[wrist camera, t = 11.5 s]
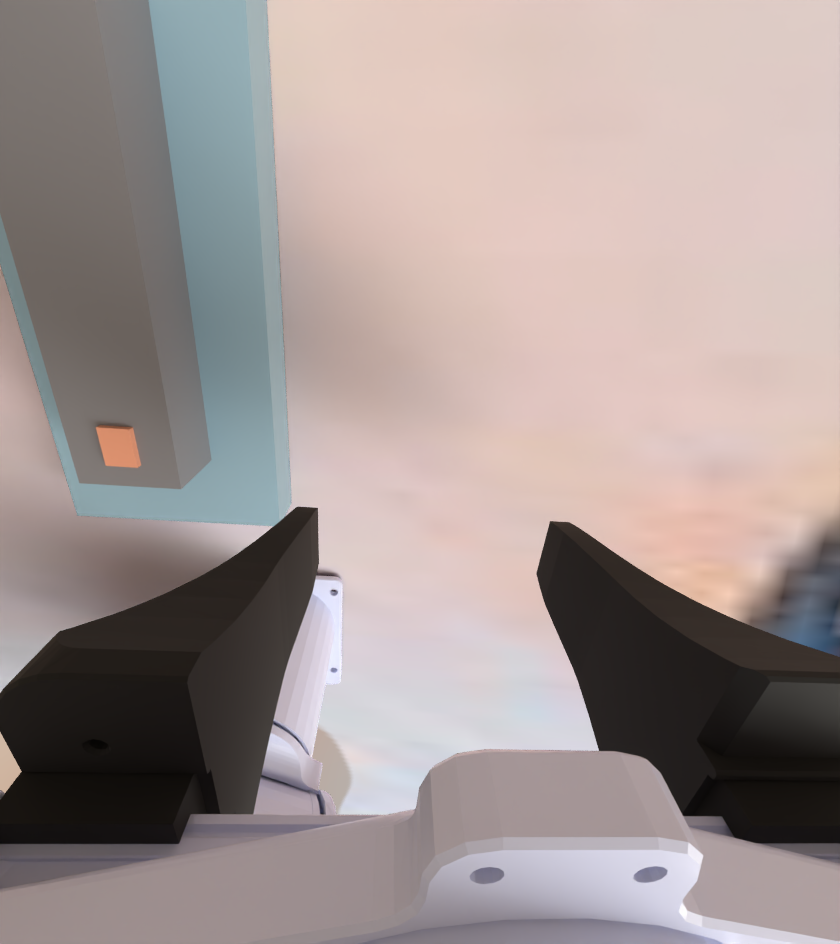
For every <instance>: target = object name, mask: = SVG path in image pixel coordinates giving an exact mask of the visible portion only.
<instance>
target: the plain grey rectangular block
mask: <svg viewBox="0 0 840 944" xmlns="http://www.w3.org/2000/svg"><path fill="white" fill-rule="evenodd" d="M0 215H1V218H2V222H3V225H4V229H5V232H6V235H7V239H8V242H9V246H10V249H11V252H12V256H13V259H14V263H15V266H16V269H17V273H18V276H19V280H20V283H21V286H22V290H23V293H24V297H25V300H26V303H27V307H28V310H29V314H30V317H31V321H32V324H33V327H34V331H35V334H36V338H37V341H38V344H39V348H40V351H41V355H42V358H43V361H44V365H45V368H46V372H47V375H48V378H49V382H50V385H51V389H52V392H53V395H54V399H55V402H56V406H57V409H58V412H59V416H60V419H61V423H62V426H63V429H64V433H65V436H66V440H67V443H68V446H69V450H70V453H71V457H72V460H73V463H74V467H75V470H76V474H77V477H78V480H79V483H83V484H99V485H116V486H133V487H150V488H167V489H182V488H183V487H184V486H185V485H186V484H187V483H188V482H189V481H190V480H191V479H193V478H194V477H195V476H196V475H197V474H198V473H199V472H200V471H201V470H202V469H203V468H204V467H205V466H206V465H207V464H208V463H209V462H210V461H211V452H210V445H209V438H208V430H207V423H206V416H205V409H204V401H203V394H202V387H201V379H200V372H199V365H198V358H197V350H196V343H195V336H194V328H193V321H192V314H191V307H190V299H189V292H188V285H187V277H186V270H185V263H184V255H183V248H182V241H181V234H180V226H179V219H178V212H177V204H176V197H175V190H174V183H173V175H172V168H171V161H170V153H169V146H168V139H167V132H166V124H165V117H164V110H163V102H162V95H161V88H160V81H159V73H158V66H157V59H156V51H155V44H154V37H153V30H152V22H151V15H150V8H149V0H0Z"/></svg>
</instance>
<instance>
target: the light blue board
mask: <svg viewBox="0 0 840 944" xmlns="http://www.w3.org/2000/svg"><path fill="white" fill-rule="evenodd" d="M149 8H150V15H151V22H152V30H153V37H154V44H155V51H156V59H157V66H158V73H159V81H160V88H161V95H162V102H163V110H164V117H165V124H166V132H167V139H168V146H169V153H170V161H171V168H172V175H173V183H174V190H175V197H176V204H177V212H178V219H179V226H180V234H181V241H182V248H183V255H184V263H185V270H186V277H187V285H188V292H189V299H190V307H191V314H192V321H193V328H194V336H195V343H196V350H197V358H198V365H199V372H200V379H201V387H202V394H203V401H204V409H205V416H206V423H207V430H208V438H209V445H210V452H211V461H210V462H209V463H208V464H207V465H206V466H205V467H204V468H203V469H202V470H201V471H200V472H199V473H198V474H197V475H196V476H195V477H194V478H193V479H191V480H190V481H189V482H188V483H187V484H186V485H185V486H184V487H183V488H182V489H167V488H150V487H133V486H116V485H99V484H83V483H79V480H78V477H77V474H76V470H75V467H74V463H73V460H72V457H71V453H70V450H69V446H68V443H67V440H66V436H65V433H64V429H63V426H62V423H61V419H60V416H59V412H58V409H57V406H56V402H55V399H54V395H53V392H52V389H51V385H50V382H49V378H48V375H47V372H46V368H45V365H44V361H43V358H42V355H41V351H40V348H39V344H38V341H37V338H36V334H35V331H34V327H33V324H32V321H31V317H30V314H29V310H28V307H27V303H26V300H25V297H24V293H23V290H22V286H21V283H20V280H19V276H18V273H17V269H16V266H15V263H14V259H13V256H12V252H11V249H10V246H9V242H8V239H7V235H6V232H5V229H4V225H3V222H2V218H1V215H0V265H1V268H2V271H3V275H4V278H5V281H6V284H7V288H8V291H9V294H10V297H11V301H12V304H13V307H14V310H15V314H16V317H17V320H18V323H19V327H20V330H21V333H22V336H23V340H24V343H25V346H26V349H27V353H28V356H29V359H30V362H31V366H32V369H33V372H34V375H35V379H36V382H37V385H38V388H39V392H40V395H41V398H42V401H43V405H44V408H45V411H46V414H47V418H48V421H49V424H50V427H51V431H52V434H53V437H54V441H55V444H56V447H57V450H58V454H59V457H60V460H61V463H62V467H63V470H64V473H65V476H66V480H67V483H68V486H69V489H70V493H71V496H72V499H73V502H74V506H75V509H76V512H77V515H78V516H95V517H114V518H132V519H151V520H169V521H188V522H207V523H225V524H244V525H262V526H275V525H276V524H277V523H278V522H279V521H281V520H282V519H283V518H284V517H285V515H286V513H287V511H288V509H289V507H290V505H291V503H292V502H291V482H290V461H289V441H288V421H287V401H286V381H285V360H284V340H283V320H282V300H281V280H280V259H279V239H278V219H277V199H276V178H275V158H274V138H273V118H272V98H271V77H270V57H269V37H268V17H267V0H149Z"/></svg>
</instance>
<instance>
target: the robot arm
mask: <svg viewBox="0 0 840 944" xmlns="http://www.w3.org/2000/svg"><path fill="white" fill-rule="evenodd" d="M318 564H319V551H318V508H310V507H296V508H295V509H294V510H293V511H291V512H290V513H289V514H288V515H287V516H285V517H284V518H283V519H282V520H281V521H279V522H278V523H277V524H276V525H275V526H274V527H272V528H271V529H270V530H269V531H267V532H266V533H265V534H264V535H262V536H261V537H260V538H259V539H257V540H256V541H255V542H253V543H252V544H251V545H249V546H248V547H246V548H245V549H244V550H242V551H241V552H239V553H238V554H237V555H235V556H234V557H232V558H231V559H229V560H228V561H226V562H224V563H223V564H221V565H220V566H218V567H216V568H214V569H213V570H211V571H209V572H207V573H206V574H204V575H202V576H200V577H198V578H197V579H194V580H192V581H190V582H188V583H186V584H184V585H182V586H180V587H178V588H176V589H174V590H172V591H170V592H168V593H166V594H164V595H161V596H159V597H157V598H154V599H152V600H149V601H147V602H145V603H142V604H140V605H137V606H134V607H132V608H129V609H127V610H124V611H121V612H118V613H116V614H113V615H110V616H107V617H104V618H101V619H98V620H95V621H91V622H88V623H85V624H82V625H79V626H76V627H73V628H70V629H66V630H63V631H59V632H58V633H57V634H56V635H55V636H54V637H53V638H52V639H51V640H50V641H49V642H48V643H47V644H46V645H45V646H44V647H43V648H42V650H41V651H40V652H39V653H38V654H37V655H36V656H35V657H34V658H33V659H32V660H31V661H30V662H29V663H28V664H27V665H26V666H25V667H24V668H23V669H22V670H21V671H20V672H19V673H18V674H17V675H16V676H15V677H14V678H13V679H12V680H11V682H10V683H9V684H8V685H7V686H6V687H5V688H4V689H3V690H2V692H1V693H0V732H1V734H2V736H3V738H4V739H5V741H6V743H7V745H8V747H9V749H10V751H11V752H12V754H13V756H14V758H15V760H16V762H17V764H18V765H19V767H20V769H21V771H22V772H21V773H20V775H19V776H18V777H17V778H16V780H15V781H14V782H13V784H12V785H11V786H10V788H9V789H8V790H7V791H6V793H4V792H2V791H1V790H0V944H840V657H838V656H835V655H832V654H828V653H825V652H822V651H819V650H816V649H813V648H810V647H807V646H804V645H801V644H798V643H795V642H792V641H789V640H786V639H783V638H781V637H778V636H775V635H773V634H770V633H768V632H765V631H762V630H760V629H757V628H754V627H752V626H750V625H747V624H745V623H742V622H740V621H737V620H735V619H733V618H730V617H728V616H726V615H724V614H722V613H720V612H717V611H715V610H713V609H711V608H709V607H706V606H704V605H702V604H700V603H698V602H696V601H694V600H692V599H690V598H688V597H686V596H685V595H683V594H681V593H679V592H677V591H675V590H673V589H672V588H670V587H668V586H666V585H664V584H663V583H661V582H659V581H657V580H656V579H654V578H653V577H651V576H649V575H648V574H646V573H645V572H643V571H641V570H640V569H638V568H637V567H635V566H633V565H632V564H630V563H629V562H627V561H626V560H624V559H623V558H621V557H620V556H619V555H617V554H616V553H614V552H613V551H611V550H610V549H608V548H607V547H606V546H604V545H603V544H601V543H600V542H598V541H597V540H596V539H594V538H593V537H591V536H590V535H588V534H587V533H585V532H584V531H583V530H581V529H580V528H578V527H576V526H575V525H573V524H571V523H569V522H554V521H550V524H549V528H548V532H547V536H546V539H545V543H544V547H543V551H542V555H541V558H540V562H539V566H538V570H537V577H538V581H539V585H540V589H541V592H542V596H543V599H544V602H545V605H546V607H547V610H548V612H549V614H550V617H551V619H552V621H553V624H554V626H555V628H556V630H557V633H558V635H559V637H560V640H561V642H562V644H563V646H564V649H565V651H566V653H567V655H568V658H569V660H570V662H571V665H572V667H573V669H574V672H575V675H576V677H577V680H578V683H579V686H580V689H581V692H582V695H583V698H584V701H585V704H586V708H587V711H588V714H589V717H590V721H591V724H592V728H593V731H594V735H595V738H596V741H597V745H598V748H599V751H562V750H500V749H484V750H477V751H470V752H463V753H457V754H455V755H453V756H451V757H449V758H448V759H446V760H444V761H442V762H440V763H438V764H436V765H435V766H434V767H433V768H432V769H431V770H430V771H429V773H428V774H427V776H426V778H425V779H424V781H423V783H422V784H421V786H420V787H419V793H418V799H417V806H416V809H414V810H409V811H403V812H398V813H393V814H388V815H337V814H336V808H335V804H334V801H333V799H332V797H331V796H330V794H329V793H327V792H325V791H322V790H319V783H320V777H321V772H322V765H323V764H322V763H321V762H319V761H317V760H315V759H313V758H312V754H313V749H314V744H315V739H316V734H317V728H318V723H319V718H320V712H321V707H322V702H323V696H324V691H325V686H326V684H337V683H339V682H340V681H341V673H342V590H343V583H342V580H341V579H340V578H339V577H335V576H316V574H317V569H318ZM333 589H335V590H337V591H335V592H334V591H332V590H333Z"/></svg>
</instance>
